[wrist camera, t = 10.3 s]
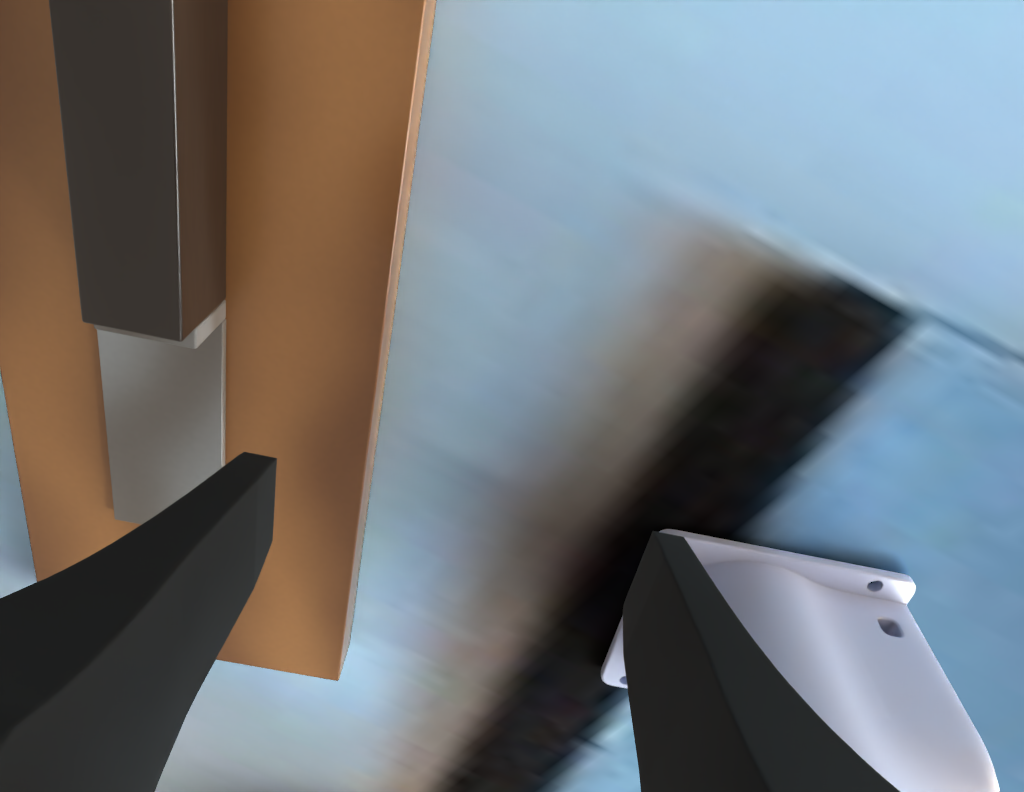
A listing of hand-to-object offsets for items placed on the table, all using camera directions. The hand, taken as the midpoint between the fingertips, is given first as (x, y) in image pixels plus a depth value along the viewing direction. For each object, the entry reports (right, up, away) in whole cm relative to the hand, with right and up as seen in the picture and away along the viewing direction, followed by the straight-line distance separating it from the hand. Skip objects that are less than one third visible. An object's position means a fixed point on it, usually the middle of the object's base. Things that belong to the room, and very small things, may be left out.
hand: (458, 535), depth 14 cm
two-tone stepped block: (-9, +5, +6) cm, 12 cm away
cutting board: (-8, +5, +9) cm, 13 cm away
